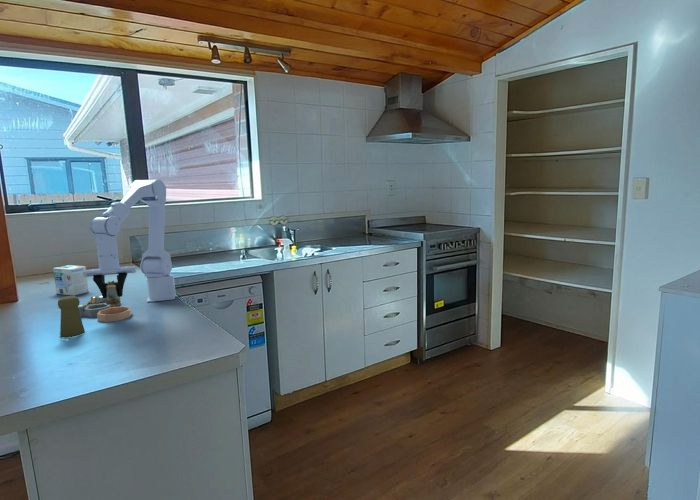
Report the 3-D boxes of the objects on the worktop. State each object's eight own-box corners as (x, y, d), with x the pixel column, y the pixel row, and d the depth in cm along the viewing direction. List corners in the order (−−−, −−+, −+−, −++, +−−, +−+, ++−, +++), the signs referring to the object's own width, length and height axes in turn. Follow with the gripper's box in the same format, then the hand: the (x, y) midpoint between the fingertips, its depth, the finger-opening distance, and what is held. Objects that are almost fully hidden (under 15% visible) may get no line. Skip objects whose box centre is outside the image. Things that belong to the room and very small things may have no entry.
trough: (120, 303, 154) (119, 298, 154) (117, 307, 149) (117, 301, 149) (88, 306, 151) (88, 301, 151) (85, 311, 146) (84, 305, 145)
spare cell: (114, 305, 153) (114, 294, 153) (112, 306, 149) (111, 294, 149) (92, 307, 151) (91, 296, 151) (89, 308, 147) (88, 297, 147)
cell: (121, 300, 140) (119, 279, 138) (119, 303, 136) (117, 281, 135) (107, 302, 138) (104, 280, 137) (105, 305, 134) (102, 283, 133)
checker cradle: (112, 309, 147) (111, 299, 146) (108, 315, 140) (107, 305, 139) (81, 312, 143) (80, 303, 143) (76, 319, 137) (75, 308, 136)
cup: (132, 311, 143) (132, 305, 143) (129, 319, 135) (128, 312, 135) (101, 315, 140) (101, 308, 140) (96, 323, 132) (95, 316, 131)
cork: (58, 339, 118) (53, 300, 117) (61, 332, 124) (56, 296, 122) (84, 335, 121) (79, 297, 120) (85, 329, 126) (81, 293, 125)
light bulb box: (55, 294, 172) (52, 267, 170) (71, 290, 178) (68, 264, 176) (73, 296, 168) (70, 269, 166) (89, 291, 174) (86, 265, 172)
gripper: (78, 258, 128) (83, 302, 130) (132, 255, 133) (136, 297, 135) (84, 255, 135) (89, 297, 137) (134, 251, 140) (138, 292, 142)
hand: (112, 296), depth 137 cm, fingers closed on cell, 4 cm apart
